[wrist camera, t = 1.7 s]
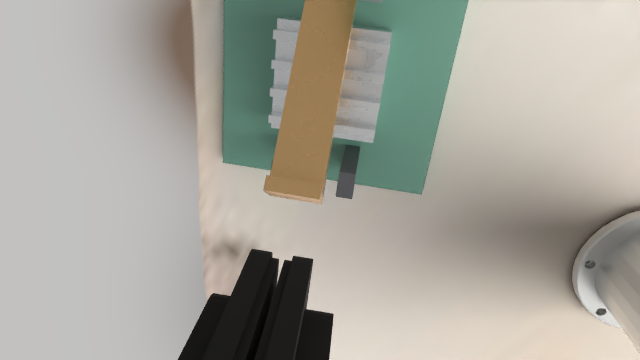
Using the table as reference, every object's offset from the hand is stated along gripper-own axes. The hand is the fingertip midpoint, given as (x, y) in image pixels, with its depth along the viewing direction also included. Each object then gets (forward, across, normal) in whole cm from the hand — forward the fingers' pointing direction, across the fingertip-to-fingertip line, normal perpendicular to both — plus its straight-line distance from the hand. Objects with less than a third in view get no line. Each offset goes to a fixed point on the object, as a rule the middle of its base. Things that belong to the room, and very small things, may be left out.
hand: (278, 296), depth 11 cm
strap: (+16, +1, -2) cm, 16 cm away
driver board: (+25, 0, -1) cm, 25 cm away
